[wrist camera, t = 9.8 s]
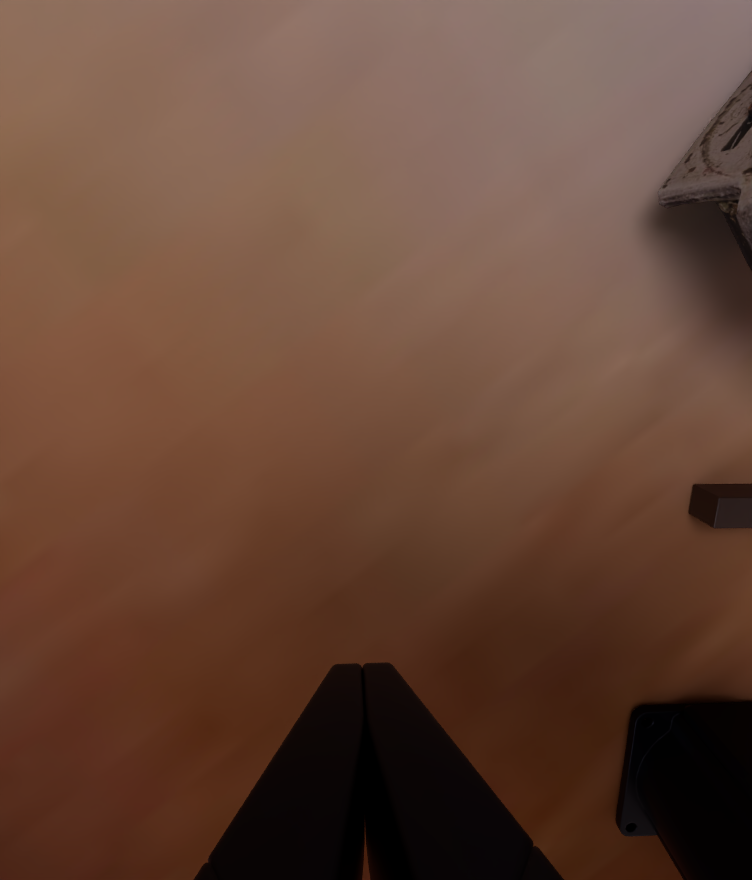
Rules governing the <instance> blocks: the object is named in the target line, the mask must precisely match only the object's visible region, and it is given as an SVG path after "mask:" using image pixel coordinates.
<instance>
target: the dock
mask: <svg viewBox="0 0 752 880" xmlns="http://www.w3.org/2000/svg"><path fill="white" fill-rule="evenodd" d="M689 514H691V515H693V516H694V517H696V518H698V519H699V520H701V521H703V522H704V523H706V524H708V525H709V526H711V527H713V528H752V484H694V485H693V490H692V496H691V502H690V509H689Z"/></svg>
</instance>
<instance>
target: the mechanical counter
mask: <svg viewBox="0 0 752 880" xmlns="http://www.w3.org/2000/svg"><path fill="white" fill-rule="evenodd" d="M658 195H659V204H660V205H662V206H664V207H666V208H670V207H673V206H677V205H681V204H689V203H698V202H706V201H715V202H716V203H717V205H718V206H719V208H720V209H721V211H722V212H723V214H724V216H725V218H726V220H727V222H728V224H729V226H730V228H731V230H732V233H733V235H734V237H735V239H736V241H737V243H738V245H739V247H740V249H741V251H742V253H743V255H744V258H745V260H746V262H747V264H748V266H749V267H750V269H751V270H752V71H751V72H750V74H749V75H748V76H747V78H746V79H745V80H744V81H743V83H742V84H741V85H740V86H739V87H738V89H737V90H736V91H735V92H734V94H733V95H732V96H731V97H730V99H729V100H728V101H727V102H726V103H725V105H724V106H723V107H722V108H721V109H720V111H719V112H718V113H717V114H716V116H715V117H714V118H713V119H712V121H711V122H710V123H709V124H708V126H707V127H706V128H705V130H704V131H703V132H702V133H701V135H700V136H699V137H698V139H697V140H696V141H695V142H694V144H693V145H692V146H691V148H690V149H689V150H688V152H687V153H686V154H685V156H684V157H683V158H682V160H681V161H680V162H679V164H678V165H677V167H676V168H675V169H674V170H673V172H672V173H671V175H670V176H669V177H668V179H667V180H666V181H665V183H664V184H663V185H662V187H661V188H660V190H659V191H658Z"/></svg>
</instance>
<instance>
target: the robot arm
mask: <svg viewBox="0 0 752 880" xmlns="http://www.w3.org/2000/svg"><path fill="white" fill-rule="evenodd" d="M645 718H646V719H645ZM643 719H645V720H643ZM616 824H617V826H618V828H619V830H620V831H621V833H622V834H623V835H625V836H650V835H657V836H658V837H659V839H660V841H661V842H662V844H663V846H664V847H665V849H666V851H667V852H668V854H669V856H670V858H671V859H672V861H673V863H674V864H675V866H676V868H677V869H678V871H679V873H680V874H681V876H682V878H683V880H752V702H728V703H699V704H669V705H643V706H639V707H637V708H635V709H634V710H633V712H632V714H631V718H630V725H629V731H628V738H627V745H626V752H625V759H624V766H623V773H622V780H621V786H620V793H619V800H618V807H617V814H616ZM365 832H366V847H367V856H368V864H369V872H370V879H371V880H564V879H563V878H562V877H561V875H560V874H559V873H558V872H557V870H556V869H555V868H554V867H553V865H552V864H551V863H550V862H549V860H548V859H547V858H546V857H545V855H544V854H543V853H542V851H541V850H540V849H539V848H538V847H536V846H535V847H533V841H532V839H531V838H530V837H529V836H528V834H527V833H526V832H525V831H524V829H523V828H522V827H521V826H520V824H519V823H518V822H517V821H516V819H515V818H514V817H513V816H512V814H511V813H510V812H509V811H508V809H507V808H506V807H505V806H504V804H503V803H502V802H501V800H500V799H499V798H498V797H497V795H496V794H495V793H494V792H493V790H492V789H491V788H490V787H489V785H488V784H487V783H486V782H485V780H484V779H483V778H482V777H481V775H480V774H479V773H478V772H477V770H476V769H475V768H474V767H473V765H472V764H471V763H470V762H469V760H468V759H467V758H466V757H465V755H464V754H463V753H462V752H461V750H460V749H459V748H458V747H457V745H456V744H455V743H454V742H453V740H452V739H451V738H450V737H449V735H448V734H447V733H446V732H445V730H444V729H443V728H442V727H441V725H440V724H439V723H438V722H437V720H436V719H435V718H434V716H433V715H432V714H431V713H430V711H429V710H428V709H427V708H426V706H425V705H424V704H423V703H422V701H421V700H420V699H419V698H418V696H417V695H416V694H415V693H414V691H413V690H412V689H411V688H410V686H409V685H408V684H407V683H406V681H405V680H404V679H403V678H402V676H401V675H400V674H399V673H398V671H397V670H396V669H395V668H394V666H393V665H392V664H390V663H366V664H364V665H363V668H362V667H361V665H360V664H357V663H354V664H335V665H333V666H332V668H331V669H330V670H329V672H328V674H327V675H326V677H325V678H324V680H323V681H322V683H321V684H320V686H319V687H318V689H317V690H316V692H315V694H314V695H313V697H312V698H311V700H310V701H309V703H308V704H307V706H306V707H305V709H304V711H303V712H302V714H301V715H300V717H299V718H298V720H297V721H296V723H295V724H294V726H293V728H292V729H291V731H290V732H289V734H288V735H287V737H286V738H285V740H284V741H283V743H282V745H281V746H280V748H279V749H278V751H277V752H276V754H275V755H274V757H273V758H272V760H271V762H270V763H269V765H268V766H267V768H266V769H265V771H264V772H263V774H262V775H261V777H260V779H259V780H258V782H257V783H256V785H255V786H254V788H253V789H252V791H251V792H250V794H249V796H248V797H247V799H246V800H245V802H244V803H243V805H242V806H241V808H240V809H239V811H238V813H237V814H236V816H235V817H234V819H233V820H232V822H231V823H230V825H229V826H228V828H227V830H226V831H225V833H224V834H223V836H222V837H221V839H220V840H219V842H218V843H217V845H216V847H215V848H214V850H213V851H212V853H211V854H210V856H209V858H208V863H205V864H204V865H203V866H202V868H201V869H200V871H199V872H198V874H197V875H196V877H195V878H194V880H362V875H363V862H364V843H365Z"/></svg>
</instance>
